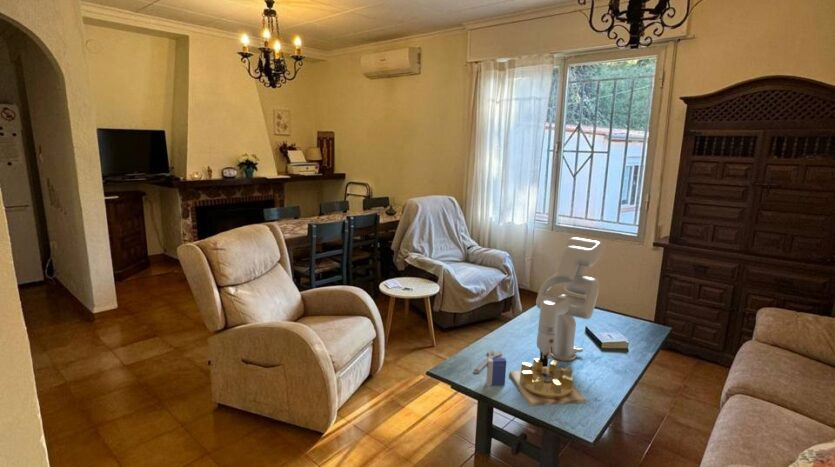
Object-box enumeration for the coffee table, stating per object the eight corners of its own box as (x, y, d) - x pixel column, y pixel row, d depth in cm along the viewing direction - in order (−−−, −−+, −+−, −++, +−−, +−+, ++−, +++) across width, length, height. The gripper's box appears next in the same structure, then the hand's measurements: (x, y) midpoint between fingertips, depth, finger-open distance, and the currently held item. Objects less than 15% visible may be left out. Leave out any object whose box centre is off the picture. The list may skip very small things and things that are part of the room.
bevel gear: (519, 367, 203) (521, 355, 202) (569, 374, 199) (571, 361, 197) (519, 394, 183) (520, 380, 181) (575, 402, 178) (576, 388, 176)
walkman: (502, 381, 195) (504, 357, 192) (504, 385, 192) (506, 360, 189) (485, 382, 194) (487, 357, 191) (487, 385, 191) (488, 360, 189)
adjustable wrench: (477, 375, 200) (477, 372, 200) (465, 370, 204) (465, 367, 204) (503, 354, 220) (503, 351, 219) (492, 350, 223) (492, 347, 223)
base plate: (559, 371, 204) (559, 368, 204) (585, 402, 181) (585, 398, 181) (509, 374, 201) (509, 371, 201) (529, 405, 178) (530, 402, 177)
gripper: (562, 335, 189) (558, 373, 192) (547, 320, 203) (544, 357, 207) (546, 335, 187) (542, 374, 191) (532, 321, 202) (528, 358, 206)
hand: (543, 365), depth 199 cm, fingers closed
